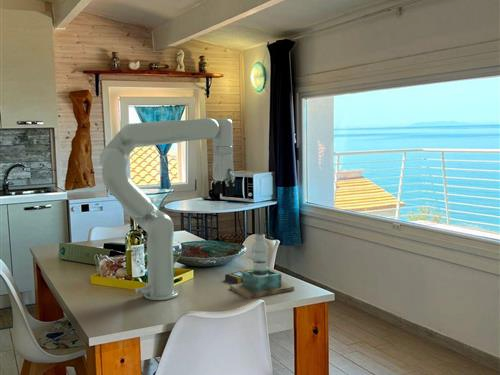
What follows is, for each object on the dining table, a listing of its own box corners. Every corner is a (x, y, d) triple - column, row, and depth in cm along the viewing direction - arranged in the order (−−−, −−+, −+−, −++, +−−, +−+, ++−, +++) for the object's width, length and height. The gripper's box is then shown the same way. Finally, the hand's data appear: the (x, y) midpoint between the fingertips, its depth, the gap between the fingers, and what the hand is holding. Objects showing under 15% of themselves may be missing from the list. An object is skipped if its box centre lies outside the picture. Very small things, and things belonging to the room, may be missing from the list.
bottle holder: (248, 298, 200) (248, 281, 200) (230, 288, 214) (229, 272, 213) (294, 290, 210) (294, 273, 209) (274, 281, 223) (273, 265, 222)
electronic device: (266, 279, 229) (266, 271, 228) (236, 285, 219) (236, 277, 219) (254, 274, 235) (254, 267, 235) (224, 281, 226) (224, 272, 226)
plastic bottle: (264, 288, 207) (263, 236, 205) (248, 286, 211) (247, 235, 209) (272, 284, 213) (271, 233, 211) (257, 282, 216) (256, 232, 214)
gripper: (205, 150, 217) (206, 193, 218) (224, 152, 202) (225, 198, 203) (222, 150, 220) (223, 192, 222) (242, 151, 205) (243, 196, 207)
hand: (224, 195), depth 213 cm, fingers open, 9 cm apart
